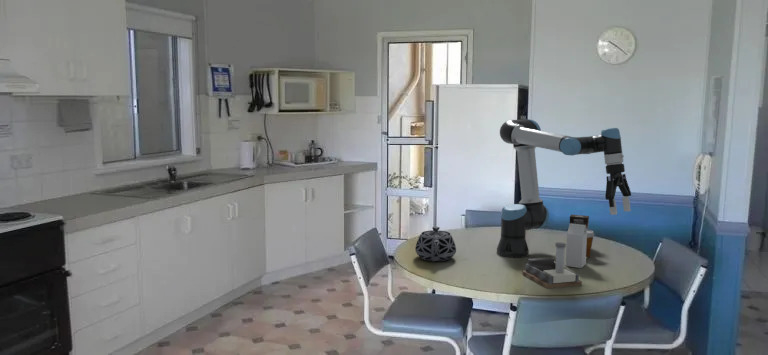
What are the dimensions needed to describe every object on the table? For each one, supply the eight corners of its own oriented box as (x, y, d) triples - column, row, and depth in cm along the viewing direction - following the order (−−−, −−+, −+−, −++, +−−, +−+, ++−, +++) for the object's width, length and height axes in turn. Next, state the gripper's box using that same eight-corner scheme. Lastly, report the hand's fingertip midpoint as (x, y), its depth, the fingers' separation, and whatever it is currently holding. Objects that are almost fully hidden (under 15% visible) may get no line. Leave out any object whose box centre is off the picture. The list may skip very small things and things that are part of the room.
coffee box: (567, 247, 315) (569, 216, 313) (569, 244, 321) (570, 213, 319) (586, 249, 312) (588, 217, 309) (587, 246, 317) (589, 215, 315)
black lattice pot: (453, 249, 310) (454, 220, 308) (457, 267, 279) (458, 234, 277) (415, 249, 311) (415, 219, 309) (415, 266, 280) (415, 233, 278)
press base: (522, 274, 269) (522, 259, 268) (555, 271, 274) (555, 256, 273) (546, 288, 250) (547, 272, 249) (581, 285, 255) (582, 269, 254)
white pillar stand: (543, 277, 258) (544, 242, 256) (564, 275, 261) (566, 240, 259) (553, 283, 251) (555, 246, 249) (575, 281, 253) (577, 245, 251)
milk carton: (581, 268, 278) (583, 226, 276) (565, 266, 282) (567, 224, 279) (585, 264, 284) (587, 223, 282) (569, 262, 288) (571, 221, 285)
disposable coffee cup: (594, 258, 294) (595, 233, 293) (573, 257, 296) (574, 232, 295) (592, 253, 304) (593, 229, 302) (571, 252, 306) (572, 228, 304)
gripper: (610, 164, 259) (616, 215, 258) (635, 161, 276) (641, 209, 276) (593, 166, 264) (599, 216, 264) (618, 163, 282) (624, 210, 281)
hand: (620, 213), depth 270 cm, fingers open, 13 cm apart
